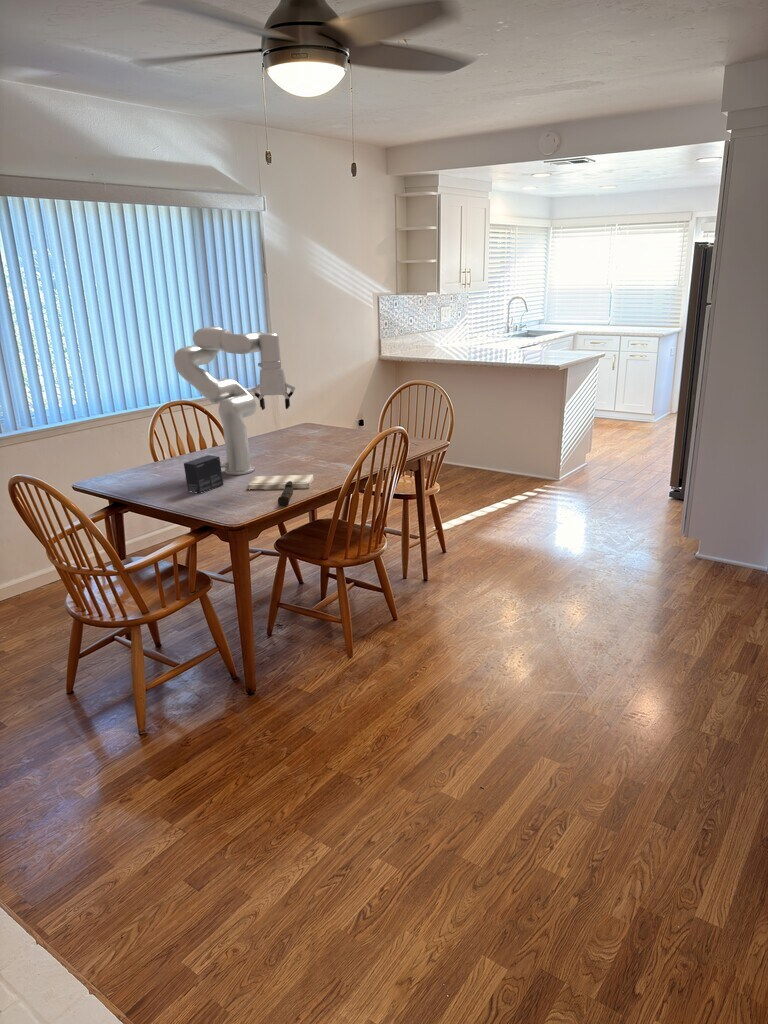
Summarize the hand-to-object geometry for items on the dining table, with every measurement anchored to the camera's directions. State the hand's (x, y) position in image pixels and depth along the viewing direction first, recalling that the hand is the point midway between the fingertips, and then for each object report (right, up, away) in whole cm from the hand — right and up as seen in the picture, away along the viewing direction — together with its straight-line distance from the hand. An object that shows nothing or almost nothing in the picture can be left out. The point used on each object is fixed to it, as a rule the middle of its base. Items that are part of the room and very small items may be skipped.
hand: (275, 408), depth 283 cm
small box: (-27, -32, -2) cm, 42 cm away
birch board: (+3, -30, -2) cm, 31 cm away
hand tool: (+7, -37, -19) cm, 42 cm away
